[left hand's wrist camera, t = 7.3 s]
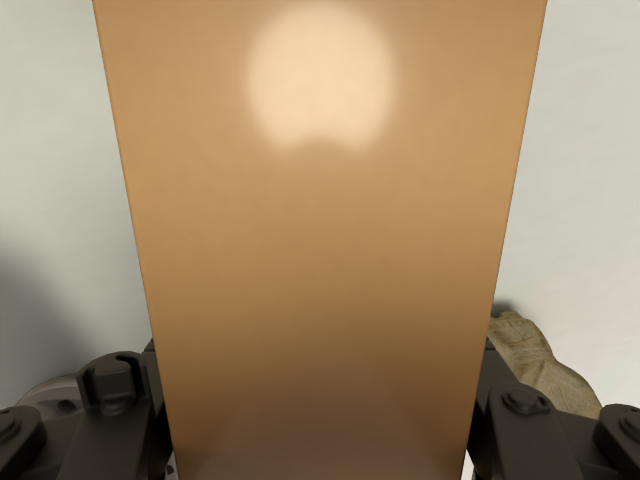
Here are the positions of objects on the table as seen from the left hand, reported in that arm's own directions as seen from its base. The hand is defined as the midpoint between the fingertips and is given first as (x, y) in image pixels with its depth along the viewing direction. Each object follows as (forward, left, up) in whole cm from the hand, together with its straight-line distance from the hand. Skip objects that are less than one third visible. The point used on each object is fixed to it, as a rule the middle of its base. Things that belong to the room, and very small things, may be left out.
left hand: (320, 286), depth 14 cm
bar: (+7, +7, -1) cm, 10 cm away
